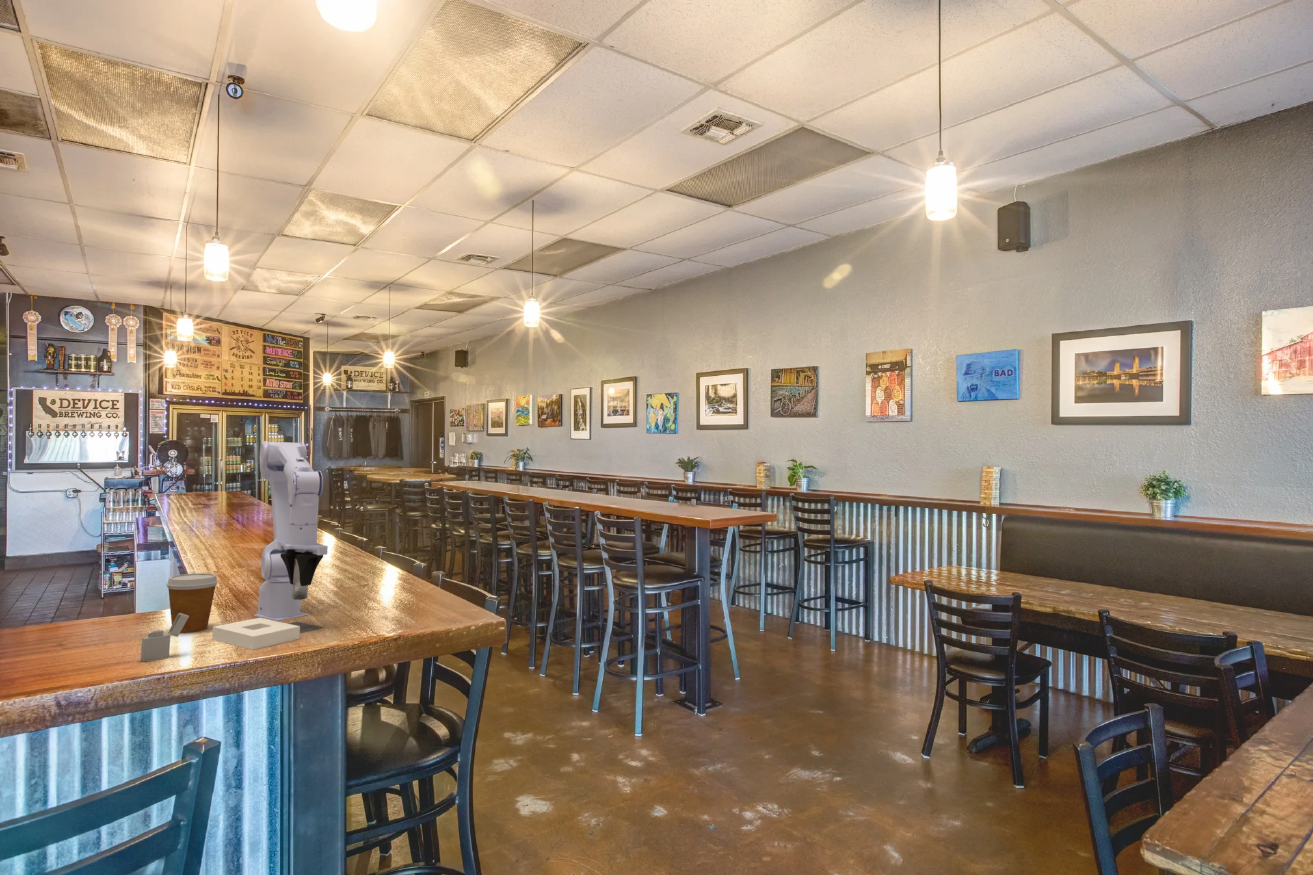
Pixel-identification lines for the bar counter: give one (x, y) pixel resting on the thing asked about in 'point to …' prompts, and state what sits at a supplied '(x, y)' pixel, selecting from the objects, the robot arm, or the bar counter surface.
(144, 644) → the lighter
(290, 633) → the block
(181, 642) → the bar counter surface
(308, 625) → the mat
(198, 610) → the disposable coffee cup
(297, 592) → the peg
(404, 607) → the bar counter surface
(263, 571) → the robot arm
